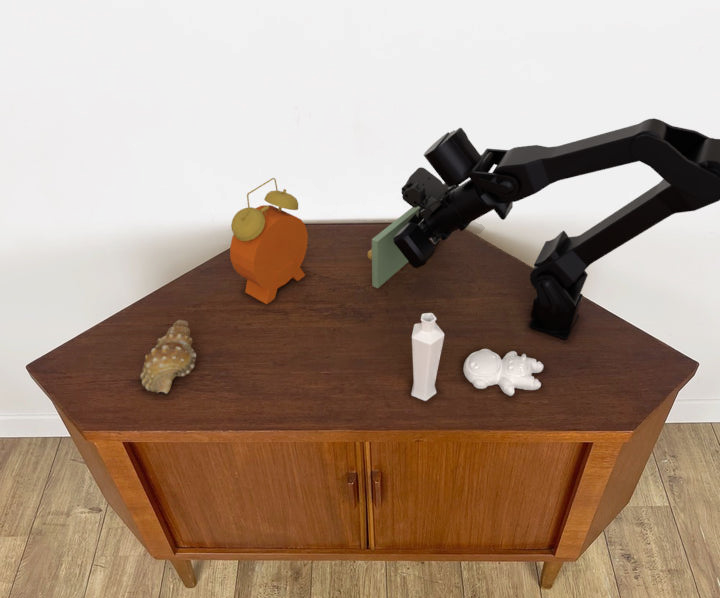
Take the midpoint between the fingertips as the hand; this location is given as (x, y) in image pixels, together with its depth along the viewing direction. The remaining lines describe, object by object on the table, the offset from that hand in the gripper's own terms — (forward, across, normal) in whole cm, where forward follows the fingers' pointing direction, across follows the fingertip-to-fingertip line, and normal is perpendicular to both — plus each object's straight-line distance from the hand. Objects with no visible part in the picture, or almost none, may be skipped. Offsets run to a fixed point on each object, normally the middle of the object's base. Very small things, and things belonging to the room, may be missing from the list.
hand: (401, 241), depth 115 cm
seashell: (+20, +38, -9) cm, 44 cm away
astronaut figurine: (-13, +14, +23) cm, 30 cm away
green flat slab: (+6, -2, +3) cm, 7 cm away
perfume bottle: (-6, +23, +17) cm, 29 cm away
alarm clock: (+19, +13, -8) cm, 24 cm away
